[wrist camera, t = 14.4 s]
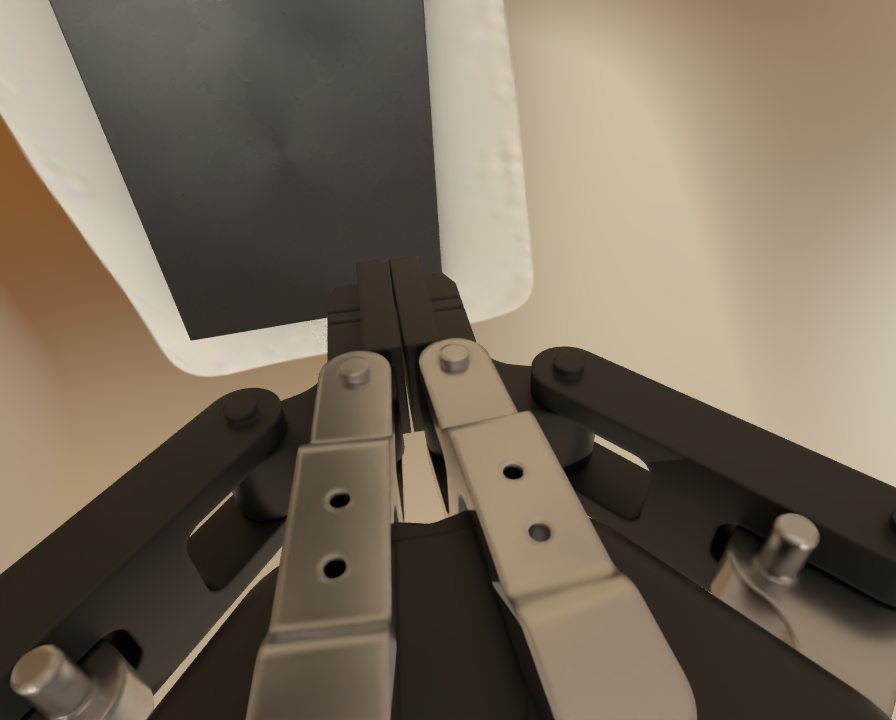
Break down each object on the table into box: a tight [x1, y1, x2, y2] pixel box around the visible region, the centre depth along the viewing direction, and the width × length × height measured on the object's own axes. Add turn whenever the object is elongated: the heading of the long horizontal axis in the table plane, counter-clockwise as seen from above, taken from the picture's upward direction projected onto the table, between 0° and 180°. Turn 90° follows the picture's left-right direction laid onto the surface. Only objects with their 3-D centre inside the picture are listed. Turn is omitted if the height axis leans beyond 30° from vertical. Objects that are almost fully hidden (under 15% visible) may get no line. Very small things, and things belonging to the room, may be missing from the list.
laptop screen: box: [49, 0, 442, 340], centre depth 37 cm, size 20×26×1 cm
